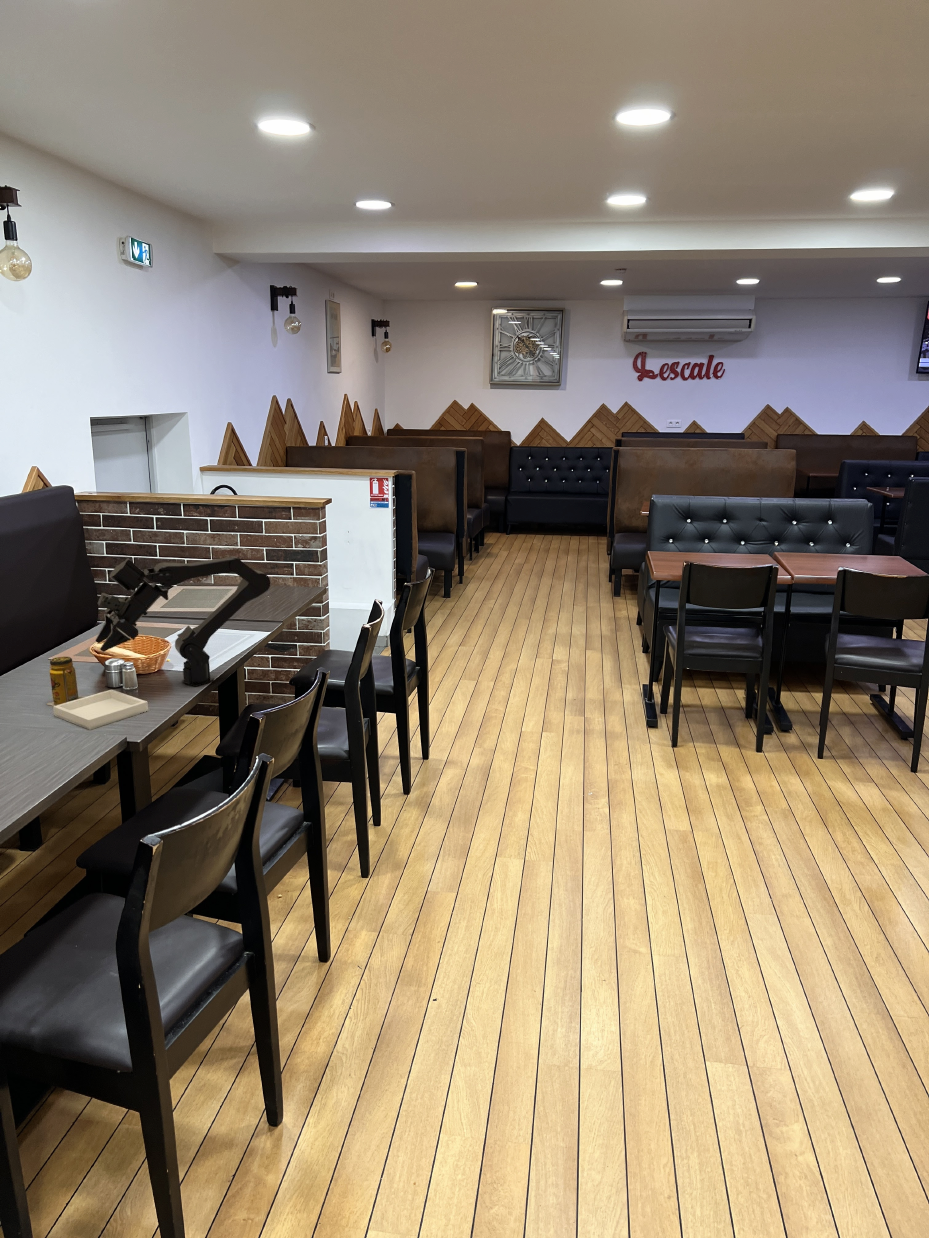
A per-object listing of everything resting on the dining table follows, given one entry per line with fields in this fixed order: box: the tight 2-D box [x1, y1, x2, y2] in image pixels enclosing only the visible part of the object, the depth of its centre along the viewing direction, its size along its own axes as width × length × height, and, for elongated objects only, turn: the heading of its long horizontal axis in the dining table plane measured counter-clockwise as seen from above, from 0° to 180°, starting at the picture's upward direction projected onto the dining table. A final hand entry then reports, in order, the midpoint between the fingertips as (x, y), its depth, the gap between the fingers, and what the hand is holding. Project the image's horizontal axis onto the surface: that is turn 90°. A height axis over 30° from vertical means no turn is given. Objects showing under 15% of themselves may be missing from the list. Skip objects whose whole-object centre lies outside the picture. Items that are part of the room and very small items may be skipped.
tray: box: [52, 689, 149, 731], centre depth 215 cm, size 16×16×2 cm
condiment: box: [47, 656, 85, 707], centre depth 222 cm, size 7×8×12 cm
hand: (99, 646), depth 224 cm, fingers open, 9 cm apart
